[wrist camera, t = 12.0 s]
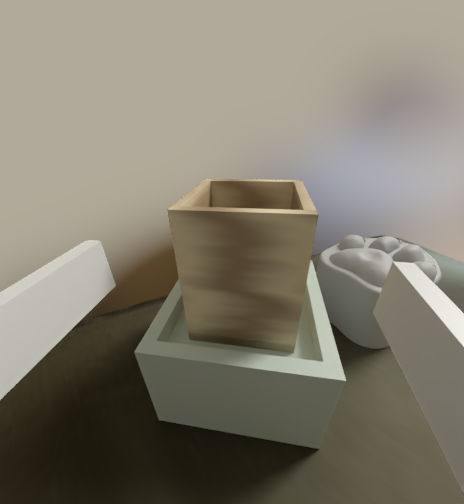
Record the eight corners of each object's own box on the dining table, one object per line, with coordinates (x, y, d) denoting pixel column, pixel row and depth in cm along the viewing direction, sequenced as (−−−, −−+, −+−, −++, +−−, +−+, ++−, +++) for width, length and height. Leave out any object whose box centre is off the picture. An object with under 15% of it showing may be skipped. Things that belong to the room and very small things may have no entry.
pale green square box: (301, 319, 27) (311, 259, 23) (319, 449, 16) (346, 380, 12) (200, 309, 29) (193, 252, 25) (156, 419, 18) (131, 351, 14)
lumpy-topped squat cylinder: (299, 300, 30) (309, 243, 26) (359, 271, 36) (374, 220, 32) (376, 360, 22) (407, 293, 18) (436, 311, 28) (471, 250, 24)
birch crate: (287, 284, 22) (301, 179, 17) (294, 352, 15) (318, 214, 10) (212, 278, 23) (203, 178, 18) (187, 339, 17) (164, 209, 12)
